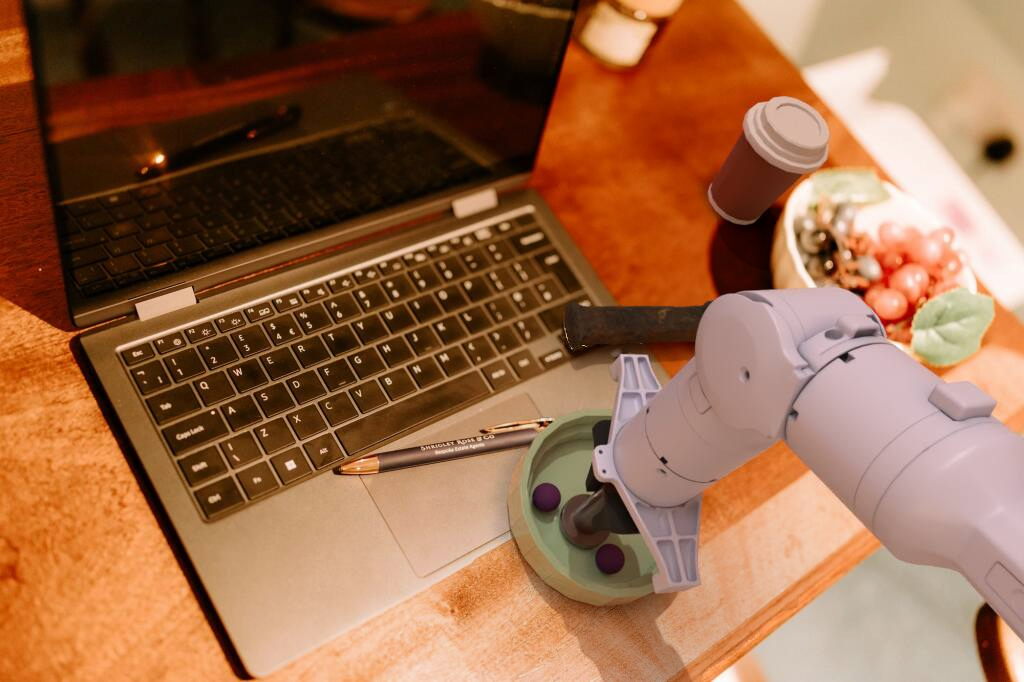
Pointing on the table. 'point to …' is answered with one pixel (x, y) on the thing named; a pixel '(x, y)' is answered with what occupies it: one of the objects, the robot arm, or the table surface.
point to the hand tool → (630, 324)
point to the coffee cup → (769, 158)
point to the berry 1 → (546, 497)
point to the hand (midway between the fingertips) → (602, 505)
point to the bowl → (539, 535)
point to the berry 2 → (610, 558)
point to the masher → (585, 517)
